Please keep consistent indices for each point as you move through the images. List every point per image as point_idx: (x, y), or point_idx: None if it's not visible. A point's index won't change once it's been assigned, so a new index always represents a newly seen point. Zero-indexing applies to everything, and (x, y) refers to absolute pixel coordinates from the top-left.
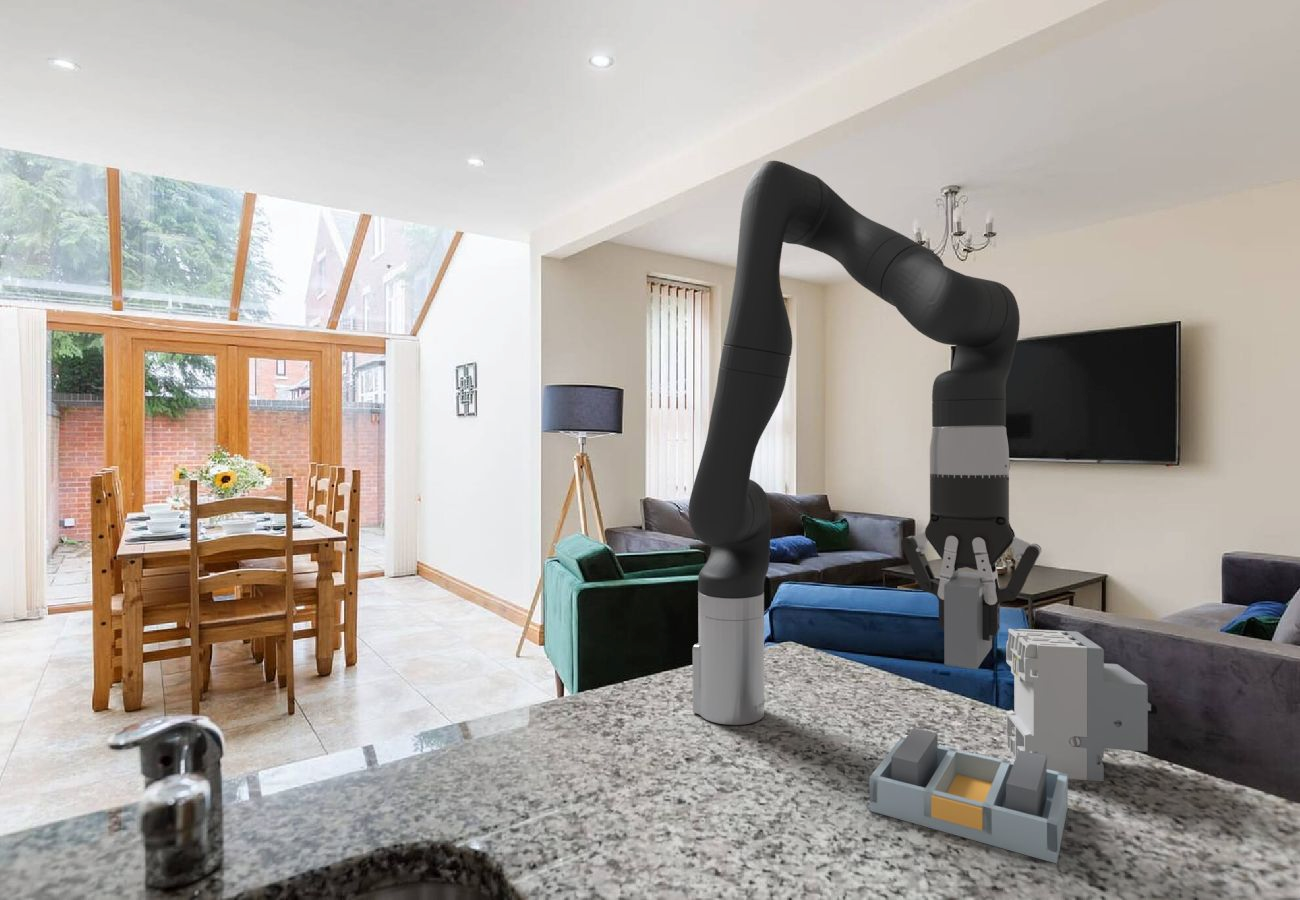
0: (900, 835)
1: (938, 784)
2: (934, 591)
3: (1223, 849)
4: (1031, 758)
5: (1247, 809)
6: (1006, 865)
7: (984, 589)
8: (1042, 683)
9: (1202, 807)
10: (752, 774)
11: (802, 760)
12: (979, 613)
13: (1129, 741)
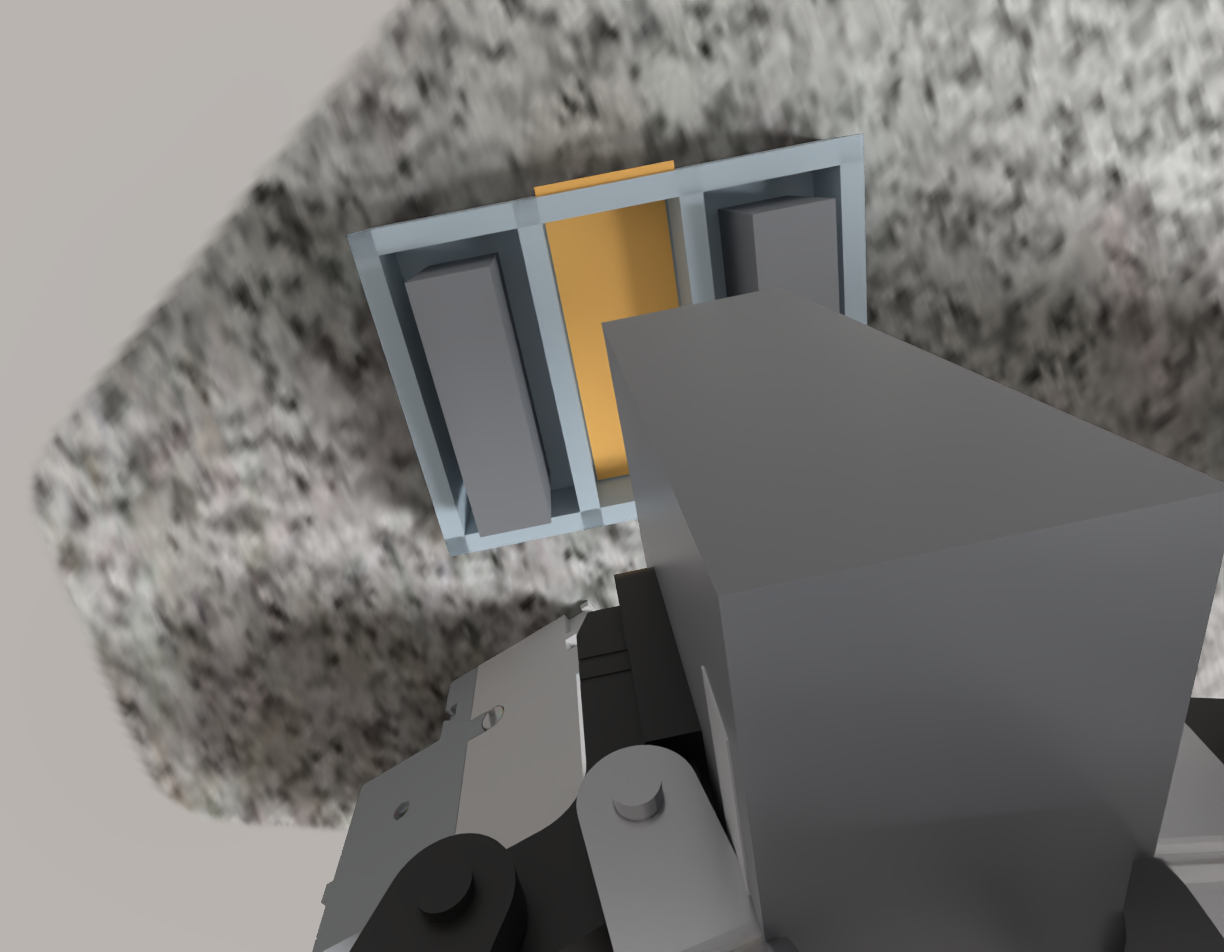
0: (709, 69)
1: (686, 259)
2: (1187, 722)
3: (167, 556)
4: (503, 493)
5: (207, 748)
6: (451, 125)
7: (718, 868)
8: (561, 807)
9: (267, 701)
10: (1177, 94)
11: (1072, 289)
12: (670, 570)
13: (389, 785)
